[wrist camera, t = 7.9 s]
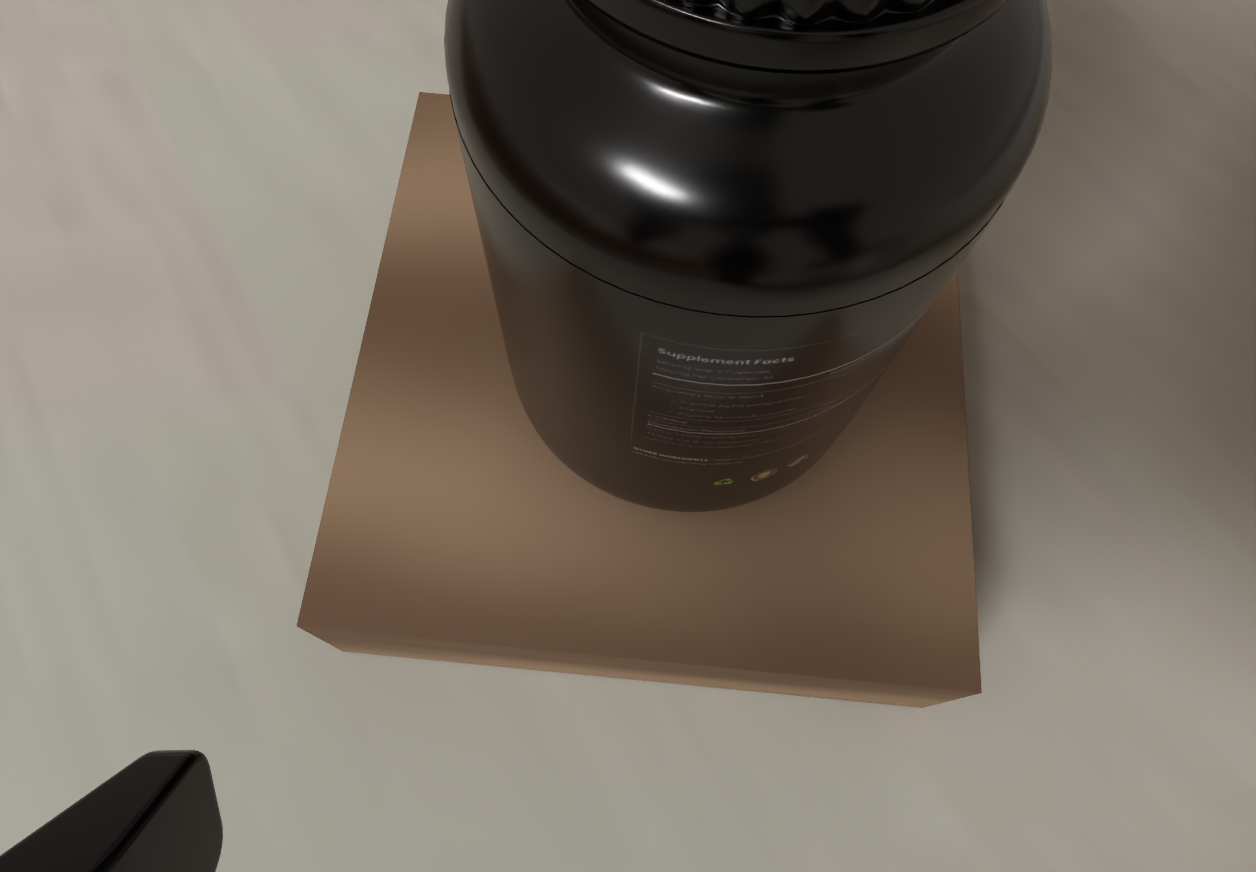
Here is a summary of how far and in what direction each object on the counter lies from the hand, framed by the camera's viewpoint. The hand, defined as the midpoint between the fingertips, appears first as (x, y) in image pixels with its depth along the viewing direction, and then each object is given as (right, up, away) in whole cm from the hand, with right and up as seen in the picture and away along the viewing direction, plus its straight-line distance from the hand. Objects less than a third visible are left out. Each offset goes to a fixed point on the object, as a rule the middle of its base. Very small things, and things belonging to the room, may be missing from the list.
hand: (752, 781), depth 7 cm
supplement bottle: (0, +4, +10) cm, 11 cm away
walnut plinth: (0, +3, +13) cm, 14 cm away
